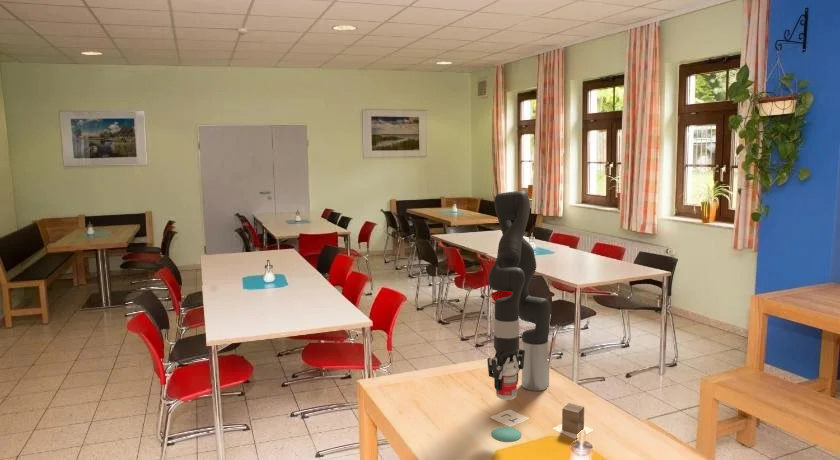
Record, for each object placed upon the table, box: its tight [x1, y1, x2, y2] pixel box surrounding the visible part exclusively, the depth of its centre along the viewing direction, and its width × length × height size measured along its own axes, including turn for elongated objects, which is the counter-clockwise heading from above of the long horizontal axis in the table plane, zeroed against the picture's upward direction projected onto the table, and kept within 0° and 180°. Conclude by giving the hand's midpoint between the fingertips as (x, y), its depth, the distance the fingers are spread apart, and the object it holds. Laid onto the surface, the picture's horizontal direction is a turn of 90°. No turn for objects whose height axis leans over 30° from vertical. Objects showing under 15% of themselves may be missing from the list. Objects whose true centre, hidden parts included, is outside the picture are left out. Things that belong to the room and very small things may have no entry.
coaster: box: [491, 426, 522, 443], centre depth 181 cm, size 9×9×1 cm
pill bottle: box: [495, 361, 518, 401], centre depth 179 cm, size 6×6×11 cm
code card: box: [489, 409, 530, 428], centre depth 192 cm, size 9×9×1 cm
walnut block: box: [561, 402, 585, 434], centre depth 183 cm, size 5×5×7 cm
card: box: [552, 423, 594, 440], centre depth 184 cm, size 9×9×1 cm
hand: (506, 386), depth 179 cm, fingers closed on pill bottle, 6 cm apart
